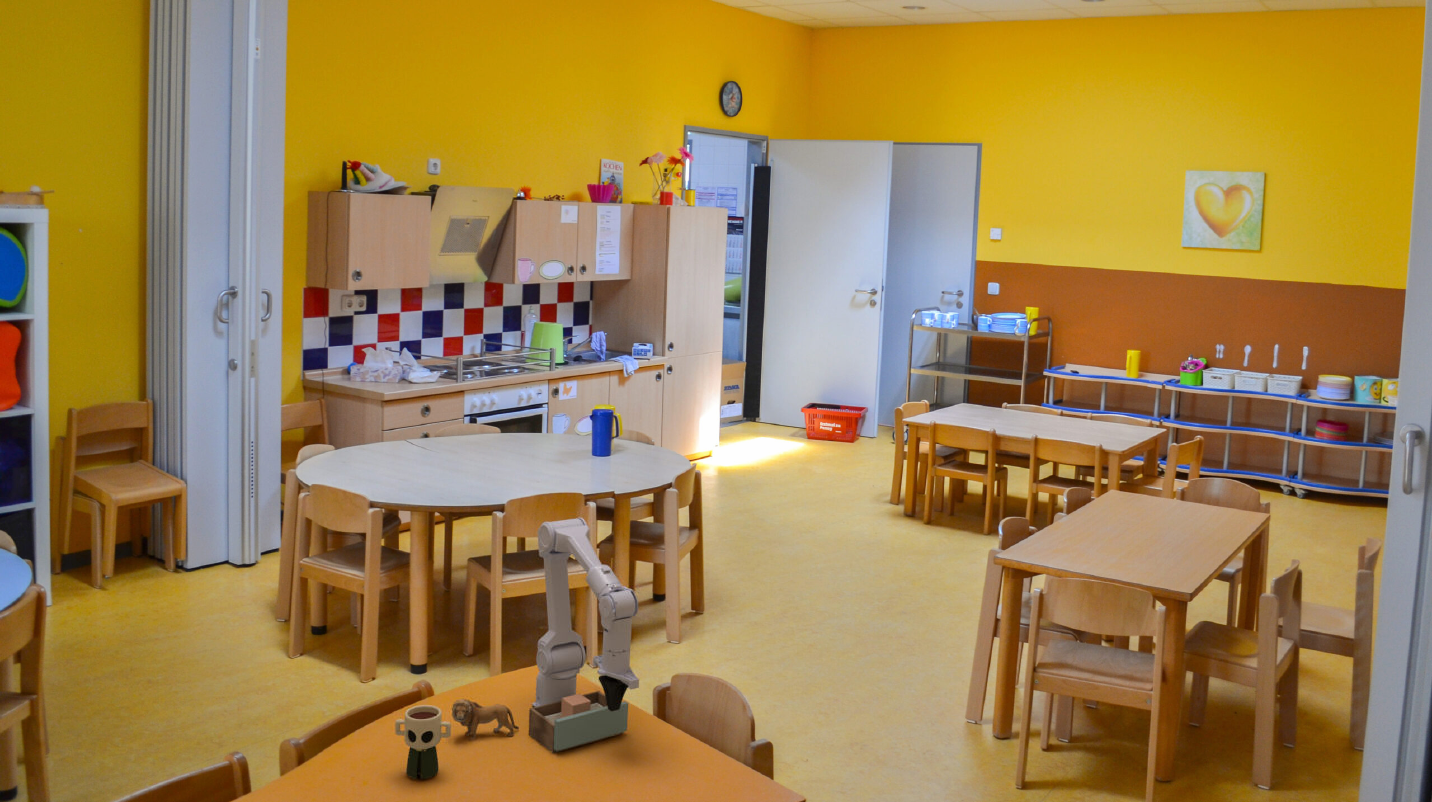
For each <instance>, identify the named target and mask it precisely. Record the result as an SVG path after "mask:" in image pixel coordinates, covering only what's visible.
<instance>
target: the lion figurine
mask: <svg viewBox="0 0 1432 802" xmlns="http://www.w3.org/2000/svg"><path fill="white" fill-rule="evenodd" d="M451 716H452V718H453V719H452V720H453V721H455V722H456V723H457V722H458V723H460V725H461V726H462V727H467V731H465V733H464V735H465V736H466V737H467V736H470V735H471V736H470V737H469V738H468V739H469V741H475V740H476V739H477V730H478V727H479V725H484V724H485V725H486V724H489V723H491V722H493V721H494V720H496V721H497V724H498V725H497V727H494V728H493V731H492V732H494V733H497V732H500V730H501V729H502V727H505V728H506V729H508V730H509V731H508V732H507V733H506V735H507V736H508V737H509V738H510V737H513V736H514V733H515V731H514V730H519V729H520V727H519V726H517V725H516V724H515V721H514V720H515V719H514V716H513V713H512V711H511V709H510V708H509V707H508V706H507V705H504V704H501V703H497V704H496V703H495V704H494V705H493V704H492V705H488V706H483V705H482V706H481V704H478V703H477V702H475V701H471V700H470V699H466V698H462V699H461V698H460V699H457V700H456V701H455V702H454V703H453V704H452V708H451ZM508 716H509V717H508ZM509 718H510V719H509Z"/></svg>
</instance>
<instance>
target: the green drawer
mask: <svg viewBox="0 0 1432 802" xmlns="http://www.w3.org/2000/svg"><path fill="white" fill-rule="evenodd" d="M628 717H629V702H627V701H625V700H624V701H622V703H621V706H620V709H619V710H616V711H610V710H609V709H608V707H607V706H605V707H603V706H601V705H600V704H598V703H595V704H591V709H590V711H586V712H582V713H578V714H575V715H571V716H567V717H563V718H561V712H560V713H557V714H553V715H549V716H545V718H547V719H548V720H549V721H551V722H552V723H554V749H555V750H556V751H559V750H562V749H566V748H569V747H573V746H576V745H580V744H583V743H587V742H590V741H594V740H597V739H601V738H604V737H608V736H611V735H615V734H618V733H622V732H623V733H625V732H627V731H628ZM623 733H622V734H623ZM618 735H619V734H618ZM615 736H616V735H615ZM611 737H612V736H611ZM608 738H609V737H608ZM604 739H605V738H604ZM601 740H602V739H601ZM597 741H598V740H597ZM594 742H595V741H594ZM590 743H591V742H590ZM587 744H588V743H587ZM583 745H584V744H583ZM580 746H581V745H580ZM576 747H577V746H576ZM573 748H574V747H573ZM569 749H570V748H569ZM566 750H567V749H566ZM562 751H563V750H562ZM559 752H560V751H559Z"/></svg>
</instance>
